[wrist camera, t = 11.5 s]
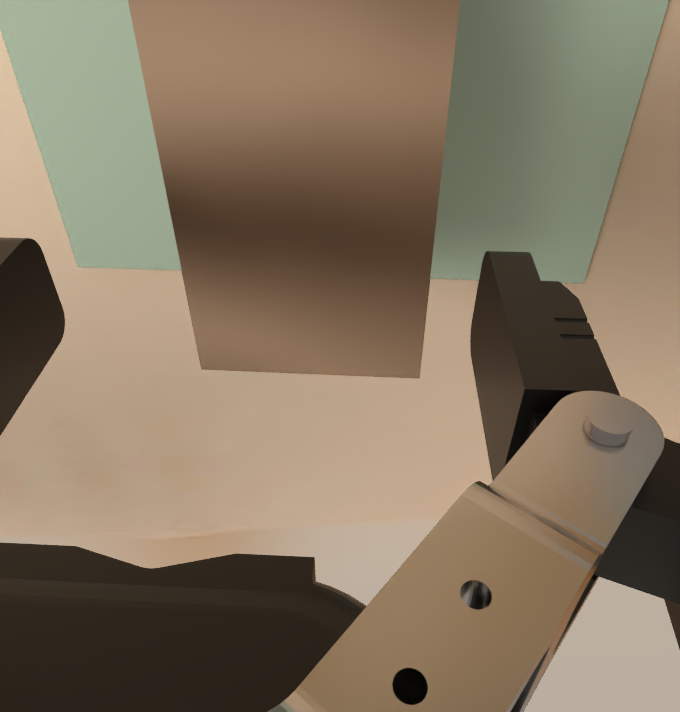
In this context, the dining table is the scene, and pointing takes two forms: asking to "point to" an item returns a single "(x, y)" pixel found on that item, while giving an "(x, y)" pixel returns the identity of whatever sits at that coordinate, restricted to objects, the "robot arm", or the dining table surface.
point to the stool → (302, 173)
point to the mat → (462, 141)
